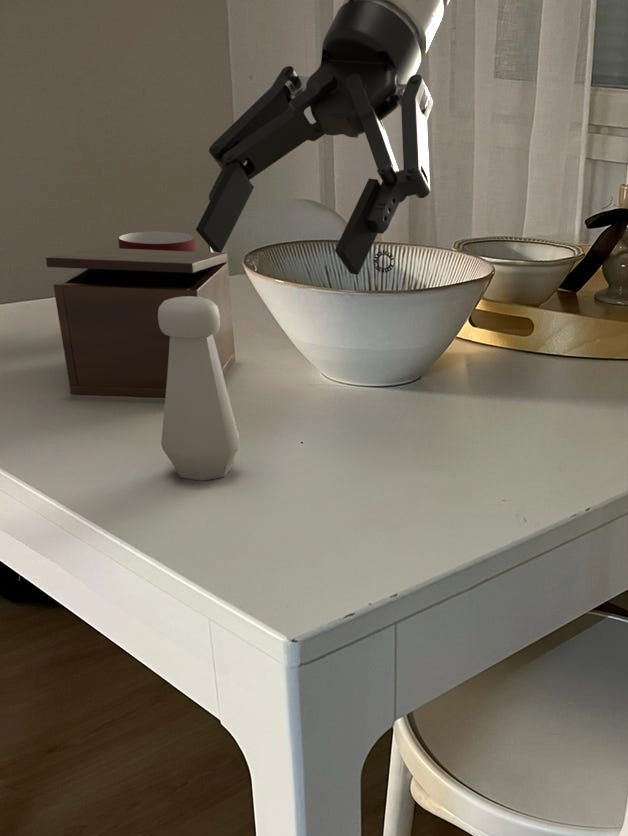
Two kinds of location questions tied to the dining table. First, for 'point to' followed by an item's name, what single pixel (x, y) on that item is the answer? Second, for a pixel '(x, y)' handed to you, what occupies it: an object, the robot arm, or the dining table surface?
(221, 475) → the salt shaker
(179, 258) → the chest lid
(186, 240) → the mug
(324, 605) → the dining table surface
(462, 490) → the dining table surface
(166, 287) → the chest
